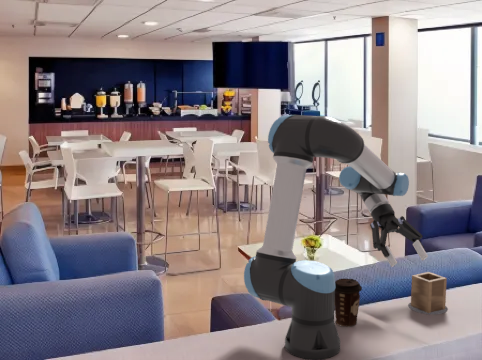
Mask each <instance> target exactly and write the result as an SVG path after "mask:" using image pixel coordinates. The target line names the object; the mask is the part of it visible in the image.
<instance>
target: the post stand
mask: <svg viewBox="0 0 482 360" xmlns="http://www.w3.org/2000/svg"><path fill="white" fill-rule="evenodd" d="M407 306H408V308H409V309H410V310H411V311H414V312H416V313H418V314H419V313H420V314H425V315H441V314H445V313H446V312H448V310H449V308H448V307H447V305H445V309H442V310H438V311H434V312H430V313H427V312H425V311H422V310H420V309H418V308H415V307H413V306H411V302H409V303H408V305H407Z"/></svg>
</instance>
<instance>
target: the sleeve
mask: <svg viewBox="0 0 482 360" xmlns="http://www.w3.org/2000/svg"><path fill="white" fill-rule="evenodd" d="M447 283H448V282H447V277H444V276H441V275H440V274H436V273H434V272H430V271H426V272H422V273H418V274H413V275H411V286H410V287H411V290H410V291H411V292H410V294H411V295H410V303H411V306H413V307H415V308H418V309H420V310H422V311H425V312H427V313H430V312H434V311H438V310H442V309H445V306H446V303H447V301H446V300H447Z"/></svg>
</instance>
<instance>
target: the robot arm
mask: <svg viewBox="0 0 482 360" xmlns="http://www.w3.org/2000/svg"><path fill="white" fill-rule="evenodd" d="M267 144H269V145H268V147H269V150H270V152H272V153H273V156H272V158H273V160H274V161H275V163H276V168H275V169H276V170H275V176H274V179H273V180H274V181H273V186H272V191H271V196H270V197H271V199H270V205H269V210H268V215H267V220H266V226H265V230H264V231H265V232H264V236H263V237H264V238H263V242H262V245H261V247H260V248H258V249H256V252H255V256H252V257H250V258H249V259H248V262H246V265H245V266H244V271H243V282H244V286H245V288H246V290H247V292H248V293H249V294H250V295H251V296H253V297H254V298H257V299H260V300H261V301H268V302H271V303H274V304H275V303H276V304H278V305H281V306H287V307H289V308H291V320H290V324H289V327H288V329H287V332H286V335H285V339H284V348H285V350H286V352H288V354H291V355H293V356H295V357H298V358H302V359H306V360H322V359H329V358H332V357H334V356H336V355H338V354H339V353H340V352H341V339H340V335H339V332H338V330H337V326H336V321H335V288H336V285H335V281H336V280H335V278H336V277H335V272H334V271H333V269H332V268H331V267H330V266H329V265H327V264H325V263H323V262H319V261H315V260H308V259H307V260H306V259H305V260H303V259H302V260H297V256H296V254H295V253H294V252H293V249H294V243H295V237H296V231H297V226H298V219H299V216H300V215H299V214H300V208H301V201H302V196H303V189H304V185H305V179H306V174H307V170H308V169H309V168H310V167H311V166H312V165H313V163H314V160H315V159H314V158H325V159H333V160H336V161H337V162H338V163H341V164H345V165H347V166H346V167H345V166H344V168H343V169H342V170H341V171H340V173H339V177H338V180H339V183H340V185H341V186H343V187H344V188H345V189H347V190H350V191H352V192H353V193H356V194H358V195H359V196H360V198H361V200H362V202H363V203H364V205H365V207H366V209H367V211H368V212H369V213H370V217H372V219H373V221H372V222H371V223H370V224H369V227H370V229H371V234H372V235H371V236H372V244H373V245H372V246H373V249H375V250H377V251H378V252H381V253H382V255H383V256H384V258H386V259H387V262H388V263H389V265H390V267H391V268H394V267H395V266H396V265H397V263H398V261H397V259H396V258H395V255H394V254H393V252H392V250H391V249H390V247H389V245H387V238H388V234H390V233H396V234H399V235H401V236H403V238H406V239H407V240H408V241H411V242H412V246H413V247H414V250H415V251H416V253H417V255H418V256H419V258H420V260H421V261H425V260H426V259H427V258H428V257H429V255H428V253H427V252H426V251H425V248H424V247H425V246H424V245H423V243H422V242H421V239H422V238H423V234H422V233H421V232H419V231H418V230H417V229H416V228H415V227H414V226H413V225H412V224H411V223H409V222H408V221H407V219H406V218H405V217H404V216H402V215H401V216H400V217H398V218H397V217H396V215H395V210H394V208H393V207H392V205H391V203H390V202H389V200H388V198H387V197H386V196H393V197H396V196H397V197H403V196H405V195H406V194H407V192H408V190H409V186H410V180H409V176H408V175H407V174H406V173H403V172H396V171H394V170H392V169H391V168H390V166H388V165H387V164H386V163H385V162H384V161H383V160H382V159H381V158H380V157H379V156H377V154H375V153H374V152H373V151H372V150H371V149H370V148H369V147H368V146H367V145H366V144H365V140H364V138H363V137H362V136H361V135H360V134H359V133H358V132H357V131H356V130H355V129H353V128H352V127H351V126H349V125H347V124H346V123H344V122H342V121H341V120H338V119H335V118H334V117H330V116H326V115H317V116H316V115H300V114H289V115H281V116H279V117H278V118H277V119H276V120H274V122H273V123H272V124H271V126H270V127H269V132H268V135H267Z"/></svg>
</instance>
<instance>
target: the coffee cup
mask: <svg viewBox="0 0 482 360" xmlns="http://www.w3.org/2000/svg"><path fill="white" fill-rule="evenodd" d="M335 285H336V288H335V309H334V318H335V324H336V323H337V324H338V325H337V324H336V325H337V326H340V325H341V327H353V326H356V325H357V323H358V315H359V314H358V313H359V307H360V299H361V294H360V292H361V291H362V290H363V287H362V286H361V284H360V283H359V282H358V281H357V280H356V279H353V278H339V279H337V280H335Z"/></svg>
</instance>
